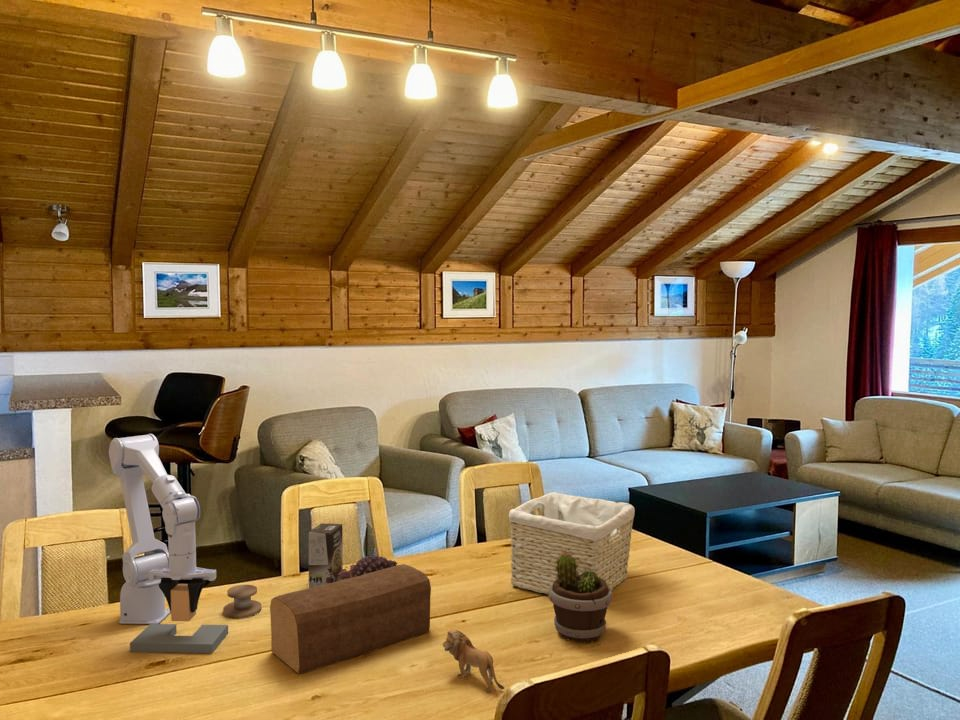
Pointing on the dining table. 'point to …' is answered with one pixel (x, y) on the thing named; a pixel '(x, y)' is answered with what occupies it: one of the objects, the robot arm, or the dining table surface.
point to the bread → (349, 617)
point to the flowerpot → (579, 601)
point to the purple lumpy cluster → (366, 566)
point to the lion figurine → (470, 657)
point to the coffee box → (325, 554)
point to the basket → (569, 539)
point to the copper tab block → (181, 603)
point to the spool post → (242, 602)
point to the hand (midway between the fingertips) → (183, 610)
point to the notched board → (178, 639)
